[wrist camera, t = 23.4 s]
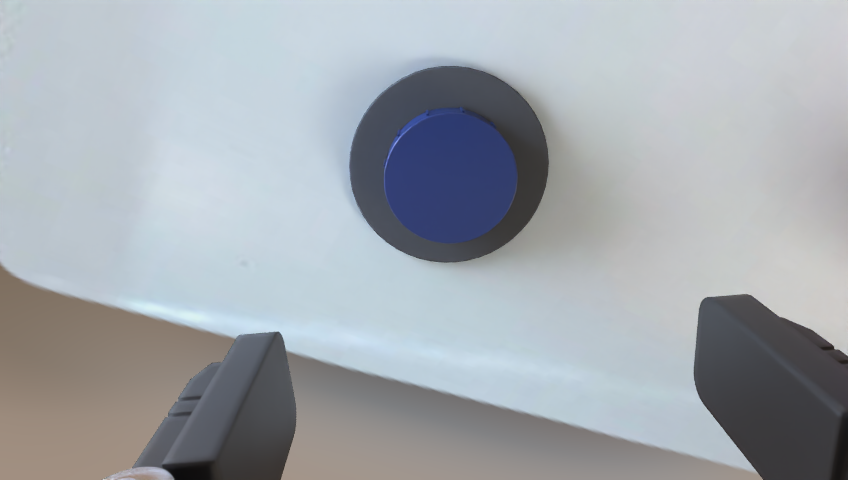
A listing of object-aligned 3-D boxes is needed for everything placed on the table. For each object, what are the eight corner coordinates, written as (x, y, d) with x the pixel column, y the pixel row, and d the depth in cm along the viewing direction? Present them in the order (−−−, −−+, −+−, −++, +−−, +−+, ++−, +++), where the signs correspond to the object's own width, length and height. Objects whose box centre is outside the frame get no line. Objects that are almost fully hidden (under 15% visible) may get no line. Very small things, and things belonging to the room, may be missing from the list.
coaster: (490, 286, 28) (491, 291, 28) (320, 213, 27) (319, 216, 26) (582, 120, 25) (586, 122, 25) (399, 29, 24) (399, 29, 24)
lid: (418, 85, 24) (418, 89, 22) (533, 140, 25) (541, 149, 23) (366, 200, 26) (362, 212, 24) (475, 248, 27) (480, 263, 25)
